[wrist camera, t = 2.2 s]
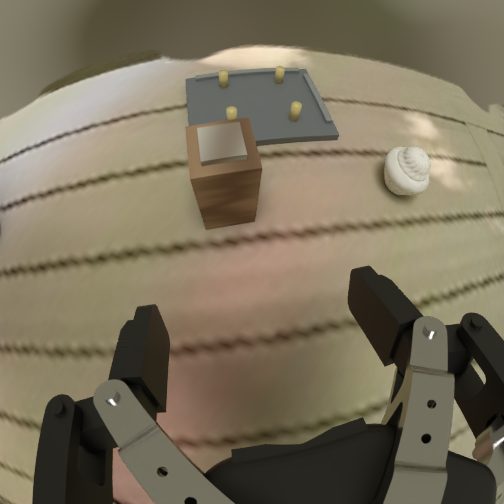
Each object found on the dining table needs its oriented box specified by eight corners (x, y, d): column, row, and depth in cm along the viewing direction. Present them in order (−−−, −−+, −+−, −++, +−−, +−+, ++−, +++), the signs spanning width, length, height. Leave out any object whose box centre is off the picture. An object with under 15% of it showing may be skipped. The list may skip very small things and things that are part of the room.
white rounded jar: (421, 201, 30) (452, 176, 23) (386, 209, 29) (417, 181, 23) (401, 161, 32) (426, 131, 25) (366, 165, 31) (390, 131, 24)
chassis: (192, 155, 30) (187, 136, 27) (186, 83, 34) (183, 66, 30) (337, 139, 32) (345, 122, 28) (304, 74, 35) (308, 57, 32)
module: (206, 229, 28) (188, 174, 17) (200, 187, 29) (184, 122, 19) (254, 221, 28) (262, 163, 18) (245, 180, 29) (249, 112, 19)
